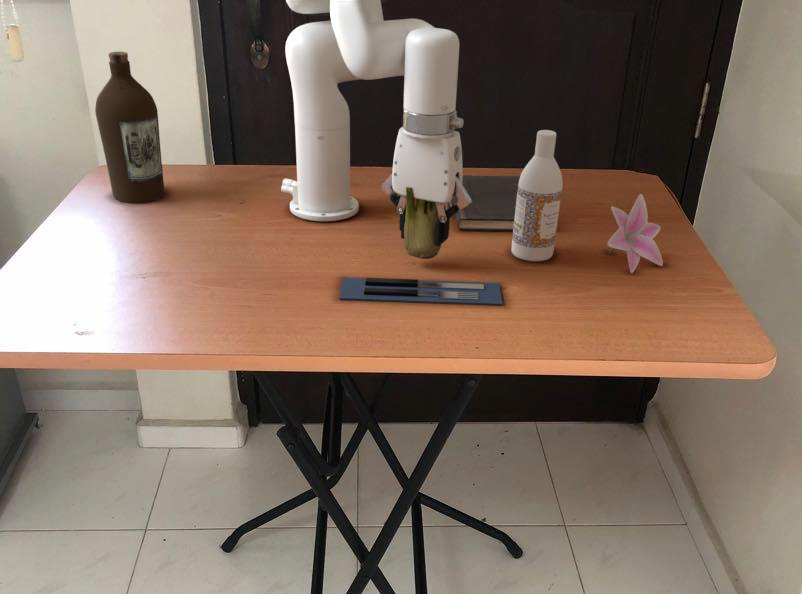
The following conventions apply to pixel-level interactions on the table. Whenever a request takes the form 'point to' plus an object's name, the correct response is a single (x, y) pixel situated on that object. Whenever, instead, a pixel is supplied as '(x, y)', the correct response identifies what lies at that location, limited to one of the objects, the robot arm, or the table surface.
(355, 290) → the napkin
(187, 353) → the table surface
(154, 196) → the olive oil
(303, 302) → the table surface
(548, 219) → the bath foam
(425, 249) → the fennel bulb
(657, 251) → the lily
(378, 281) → the cutlery
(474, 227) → the hardcover book
